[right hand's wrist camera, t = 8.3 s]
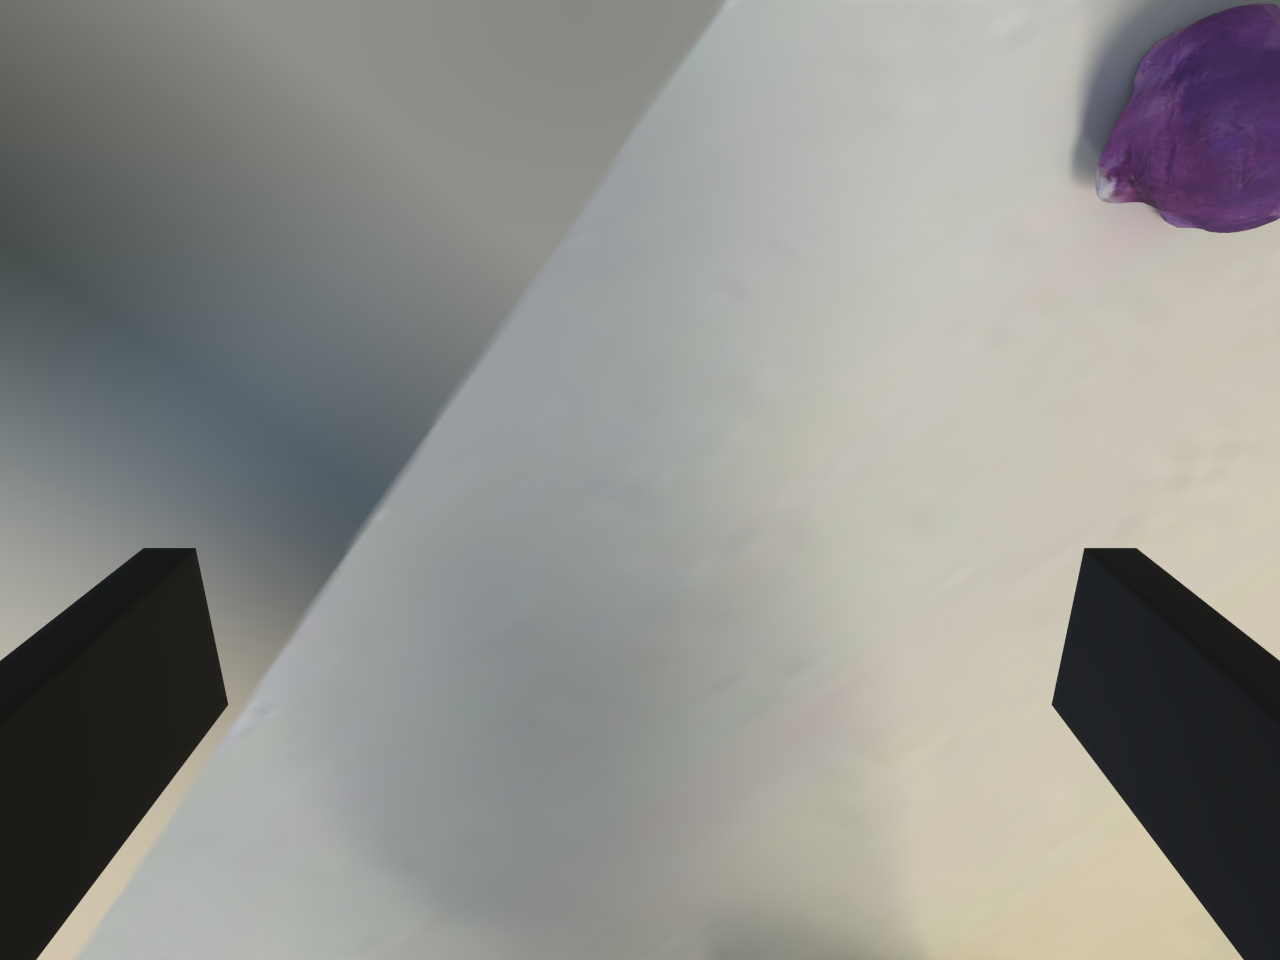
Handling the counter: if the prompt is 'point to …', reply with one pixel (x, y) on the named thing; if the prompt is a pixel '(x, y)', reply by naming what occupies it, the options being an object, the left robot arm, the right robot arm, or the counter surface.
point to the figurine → (1203, 125)
